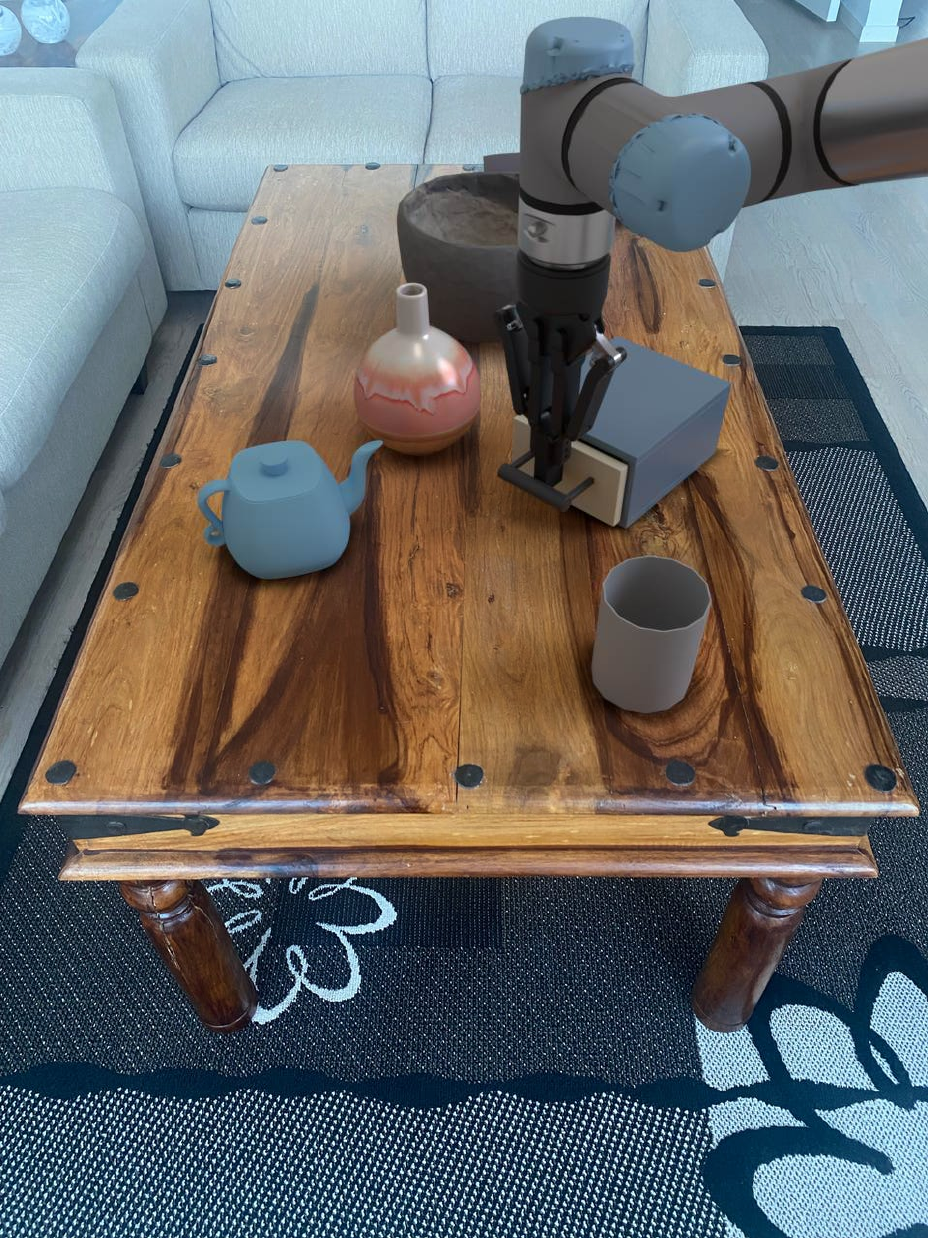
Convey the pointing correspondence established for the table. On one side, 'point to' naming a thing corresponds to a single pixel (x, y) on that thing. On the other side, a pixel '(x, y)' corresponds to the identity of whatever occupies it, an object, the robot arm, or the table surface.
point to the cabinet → (656, 422)
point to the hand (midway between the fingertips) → (547, 483)
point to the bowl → (463, 249)
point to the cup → (649, 632)
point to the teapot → (285, 508)
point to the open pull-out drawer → (570, 477)
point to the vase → (416, 382)
